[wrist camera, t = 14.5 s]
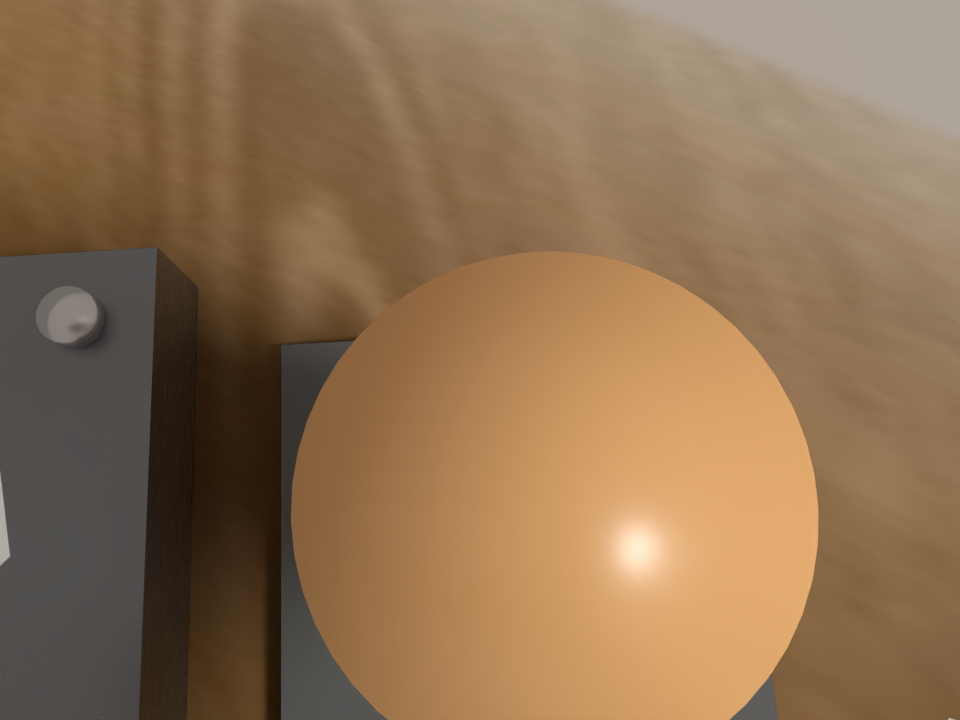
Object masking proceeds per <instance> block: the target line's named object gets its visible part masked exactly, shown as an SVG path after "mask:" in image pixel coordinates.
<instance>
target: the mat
mask: <svg viewBox="0 0 960 720" xmlns="http://www.w3.org/2000/svg"><path fill="white" fill-rule="evenodd" d="M353 342H354V341H342V342H326V343H309V344H293V345H281V720H388V719H386V718H385V717H384V716H383V715H381V714H380V713H379V712H378V711H377V710H376V709H375V708H374V707H373V706H372V705H371V704H370V703H369V702H368V701H367V700H366V699H365V697H364V696H363V695H362V694H361V693H360V692H359V691H358V690H357V689H356V688H355V687H354V686H353V685H352V683H351V682H350V680H349V679H348V678H347V676H346V675H345V673H344V672H343V671H342V669H341V668H340V666H339V665H338V664H337V662H336V661H335V659H334V658H333V657H332V655H331V653H330V651H329V650H328V648H327V646H326V644H325V642H324V640H323V638H322V636H321V635H320V633H319V631H318V629H317V627H316V625H315V623H314V620H313V618H312V615H311V612H310V610H309V607H308V604H307V602H306V599H305V596H304V594H303V591H302V587H301V583H300V578H299V574H298V570H297V565H296V561H295V557H294V547H293V537H292V527H291V504H292V484H293V478H294V472H295V465H296V459H297V453H298V450H299V446H300V443H301V440H302V436H303V433H304V430H305V426H306V423H307V420H308V418H309V415H310V413H311V411H312V409H313V406H314V404H315V402H316V400H317V397H318V395H319V393H320V391H321V389H322V387H323V385H324V384H325V382H326V380H327V379H328V377H329V376H330V374H331V372H332V371H333V369H334V367H335V366H336V364H337V362H338V361H339V360H340V358H341V357H342V356H343V355H344V353H345V352H346V351H347V350H348V348H349V347H350V346H351V345H352V343H353ZM729 720H777V712H776V704H775V697H774V689H773V682H772V674H771V675H770V676H769V678H768V679H767V680H766V681H765V682H764V684H763V685H762V686H761V687H760V688H759V690H758V691H757V692H756V693H755V694H754V696H753V697H752V698H751V699H750V700H749V702H748V703H747V704H746V705H745V706H744V707H743V708H742V709H741V710H739V711H738V712H737V713H736V714H735V715H734V716H733V717H732V718H731V719H729Z"/></svg>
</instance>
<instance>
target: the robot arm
mask: <svg viewBox="0 0 960 720" xmlns="http://www.w3.org/2000/svg"><path fill="white" fill-rule="evenodd" d="M9 557H10V552H9V543H8V535H7V526H6V518H5V509H4V501H3V492H2V484H1V475H0V566H1V565H2V564H3V563H4V562H5V561H6V560H7V559H8V558H9ZM947 720H954V719H951V718H948V719H947Z"/></svg>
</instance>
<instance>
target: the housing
mask: <svg viewBox="0 0 960 720" xmlns="http://www.w3.org/2000/svg"><path fill="white" fill-rule="evenodd" d="M196 324H197V286H196V285H195V284H194V283H193V282H192V281H191V280H190V279H189V278H188V277H187V276H186V275H185V274H184V273H183V272H182V271H181V270H180V269H179V268H178V267H177V266H176V265H175V264H174V263H172V262H171V261H170V260H169V259H168V258H167V257H166V256H165V255H164V254H163V253H162V252H161V251H160V250H159V249H158V248H157V247H155V248H139V249H122V250H106V251H90V252H73V253H57V254H41V255H25V256H8V257H0V475H1V484H2V492H3V501H4V509H5V518H6V526H7V535H8V543H9V552H10V557H9V558H8V559H7V560H6V561H5V562H4V563H3V564H2V565H1V566H0V720H186V708H187V670H188V631H189V593H190V555H191V516H192V478H193V440H194V401H195V363H196Z"/></svg>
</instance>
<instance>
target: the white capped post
mask: <svg viewBox="0 0 960 720" xmlns="http://www.w3.org/2000/svg"><path fill="white" fill-rule="evenodd" d="M291 527H292V537H293V547H294V557H295V561H296V565H297V570H298V574H299V578H300V583H301V587H302V591H303V594H304V596H305V599H306V602H307V604H308V607H309V610H310V612H311V615H312V618H313V620H314V623H315V625H316V627H317V629H318V631H319V633H320V635H321V636H322V638H323V640H324V642H325V644H326V646H327V648H328V650H329V651H330V653H331V655H332V657H333V658H334V659H335V661H336V662H337V664H338V665H339V666H340V668H341V669H342V671H343V672H344V673H345V675H346V676H347V678H348V679H349V680H350V682H351V683H352V685H353V686H354V687H355V688H356V689H357V690H358V691H359V692H360V693H361V694H362V695H363V696H364V697H365V699H366V700H367V701H368V702H369V703H370V704H371V705H372V706H373V707H374V708H375V709H376V710H377V711H378V712H379V713H380V714H381V715H383V716H384V717H385V718H386V719H388V720H729V719H731V718H732V717H733V716H734V715H735V714H736V713H737V712H738V711H739V710H741V709H742V708H743V707H744V706H745V705H746V704H747V703H748V702H749V700H750V699H751V698H752V697H753V696H754V694H755V693H756V692H757V691H758V690H759V688H760V687H761V686H762V685H763V684H764V682H765V681H766V680H767V679H768V678H769V676H770V675H771V673H772V671H773V670H774V668H775V667H776V665H777V663H778V662H779V660H780V659H781V657H782V655H783V654H784V652H785V651H786V649H787V647H788V645H789V643H790V641H791V639H792V636H793V634H794V632H795V630H796V627H797V625H798V623H799V621H800V618H801V616H802V614H803V611H804V607H805V604H806V600H807V597H808V593H809V590H810V587H811V583H812V580H813V573H814V567H815V560H816V553H817V547H818V501H817V493H816V484H815V475H814V471H813V467H812V463H811V459H810V455H809V451H808V447H807V443H806V439H805V437H804V434H803V432H802V429H801V426H800V424H799V421H798V419H797V416H796V414H795V411H794V409H793V407H792V405H791V403H790V401H789V399H788V397H787V396H786V394H785V392H784V390H783V388H782V386H781V384H780V383H779V381H778V379H777V377H776V376H775V375H774V373H773V372H772V370H771V369H770V368H769V366H768V365H767V363H766V362H765V361H764V359H763V358H762V356H761V355H760V354H759V352H758V351H757V350H756V349H755V348H754V347H753V345H752V344H751V343H750V342H749V341H748V340H747V339H746V338H745V337H744V336H743V335H742V334H741V332H740V331H739V330H738V329H737V328H736V327H735V326H734V325H733V324H732V323H730V322H729V321H728V320H727V319H726V318H724V317H723V316H722V315H721V314H720V313H719V312H717V311H716V310H715V309H714V308H713V307H711V306H710V305H709V304H707V303H706V302H704V301H703V300H701V299H700V298H698V297H697V296H695V295H694V294H692V293H691V292H689V291H688V290H686V289H685V288H683V287H682V286H680V285H678V284H675V283H673V282H671V281H669V280H667V279H665V278H663V277H661V276H659V275H657V274H655V273H653V272H651V271H648V270H645V269H642V268H639V267H636V266H634V265H631V264H628V263H625V262H622V261H618V260H613V259H609V258H604V257H600V256H595V255H591V254H580V253H570V252H559V251H557V252H526V253H519V254H512V255H506V256H499V257H494V258H490V259H487V260H483V261H479V262H476V263H472V264H469V265H465V266H463V267H460V268H458V269H455V270H453V271H451V272H448V273H446V274H444V275H441V276H439V277H436V278H434V279H432V280H431V281H429V282H427V283H426V284H424V285H422V286H420V287H419V288H417V289H415V290H413V291H412V292H410V293H408V294H407V295H405V296H404V297H403V298H401V299H400V300H399V301H397V302H396V303H395V304H393V305H392V306H391V307H389V308H388V309H387V310H385V311H384V312H383V313H381V314H380V315H379V316H378V317H377V318H376V319H375V320H374V321H373V322H372V323H371V324H370V325H369V326H368V327H367V328H366V329H365V330H364V331H363V332H362V333H361V334H360V335H359V336H358V337H357V338H356V340H355V341H354V342H353V343H352V345H351V346H350V347H349V348H348V350H347V351H346V352H345V353H344V355H343V356H342V357H341V358H340V360H339V361H338V362H337V364H336V366H335V367H334V369H333V371H332V372H331V374H330V376H329V377H328V379H327V380H326V382H325V384H324V385H323V387H322V389H321V391H320V393H319V395H318V397H317V400H316V402H315V404H314V406H313V409H312V411H311V413H310V415H309V418H308V420H307V423H306V426H305V430H304V433H303V436H302V440H301V443H300V446H299V450H298V453H297V459H296V465H295V472H294V478H293V484H292V504H291Z"/></svg>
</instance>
